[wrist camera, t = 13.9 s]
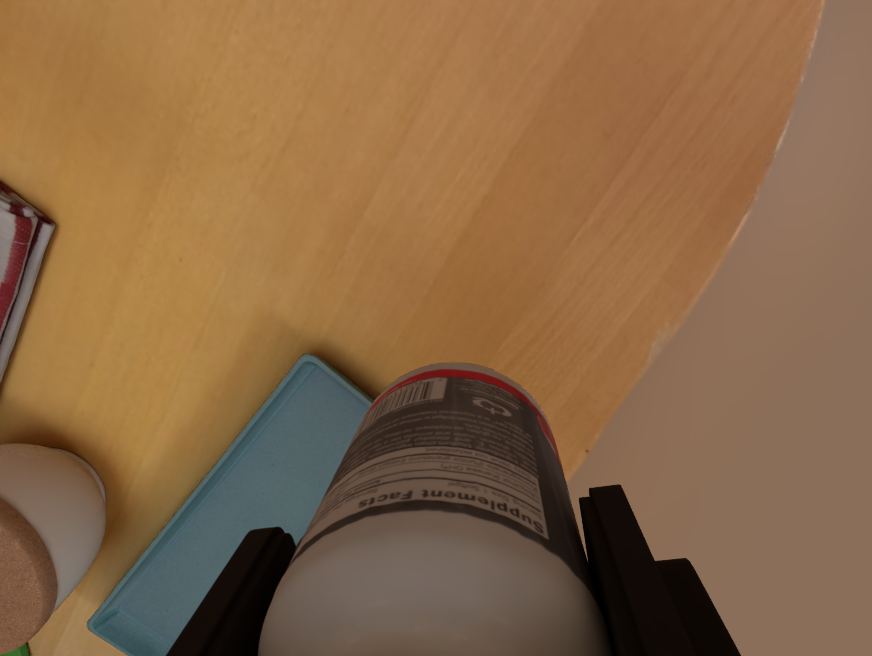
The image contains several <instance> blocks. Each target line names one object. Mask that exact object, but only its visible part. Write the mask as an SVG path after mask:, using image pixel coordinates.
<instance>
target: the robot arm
mask: <svg viewBox="0 0 872 656" xmlns="http://www.w3.org/2000/svg"><path fill="white" fill-rule="evenodd" d="M589 496H590V497H582V498H579V504H580V510H581V517H582V524H583V530H584V537H585V543H586V550H587V557H588V564H589V568H590V571H591V575H592V579H593V582H594V585H595V587H596V591H597V594H598V597H599V601H600V604H601V607H602V610H603V613H604V616H605V619H606V622H607V627H608V632H609V637H610V642H611V648H612V653H613V656H741V655H740V653H739V651H738V649H737V647H736V645H735V643H734V642H733V640H732V638H731V636H730V634H729V633H728V630H727V629H726V627H725V625H724V623H723V621H722V619H721V618H720V616H719V614H718V612H717V610H716V608H715V606H714V604H713V603H712V601H711V599H710V597H709V595H708V593H707V591H706V590H705V588H704V586H703V584H702V582H701V580H700V579H699V577H698V575H697V573H696V571H695V569H694V567H693V566H692V564H691V563H690V561H689V560H688V559H686V558H682V559H671V560H662V561H654V558H653V556H652V554H651V552H650V549H649V547H648V545H647V543H646V540H645V538H644V536H643V534H642V531H641V529H640V527H639V525H638V522H637V520H636V518H635V516H634V513H633V511H632V509H631V507H630V505H629V502H628V500H627V498H626V495H625V493H624V491H623V489H622V487H621V485H611V486H603V487H595V488H589ZM295 549H296V545H295V542H294V539H293V537H292V535H291V534H290V533H285V532H284V530H283V529H282V528H281V527H278V526H277V527H269V528H261V529H253V530H250V531H249V532H248V533H247V534H246V536H245V537H244V539H243V540H242V542H241V543H240V545H239V546H238V548H237V549H236V551H235V552H234V554H233V555H232V557H231V558H230V560H229V561H228V563H227V564H226V566H225V567H224V569H223V570H222V572H221V573H220V575H219V576H218V578H217V579H216V581H215V582H214V584H213V585H212V587H211V588H210V590H209V591H208V593H207V594H206V596H205V597H204V599H203V600H202V602H201V603H200V605H199V606H198V608H197V609H196V611H195V612H194V614H193V615H192V617H191V618H190V620H189V621H188V623H187V624H186V626H185V627H184V629H183V630H182V632H181V633H180V635H179V636H178V638H177V639H176V641H175V642H174V644H173V645H172V647H171V648H170V650H169V651H168V653H167V654H166V656H258V648H259V641H260V635H261V631H262V627H263V623H264V620H265V617H266V614H267V611H268V609H269V607H270V604H271V602H272V599H273V596H274V594H275V591H276V588H277V586H278V584H279V582H280V581H281V579H282V577H283V575H284V574H285V572H286V570H287V568H288V566H289V564H290V562H291V560H292V558H293V555H294V552H295Z"/></svg>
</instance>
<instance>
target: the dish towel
mask: <svg viewBox="0 0 872 656" xmlns="http://www.w3.org/2000/svg"><path fill="white" fill-rule="evenodd" d="M55 226H56V225H55V224H54V223H53V222H52V221H51V220H50V219H49V218H47V217H46V216H45V215H43V214H42V213H40V212H39V211H38V210H36V209H35V208H34V207H32V206H31V205H29V204H28V203H27V202H25V201H24V200H23V199H21V198H20V197H19V196H17V195H16V194H15V193H14V192H13V191H12V190H10V189H9V188H7V187H6V186H4V185H3V184H1V183H0V383H1V380H2V377H3V374H4V371H5V369H6V367H7V364H8V360H9V357H10V354H11V352H12V349H13V347H14V344H15V342H16V339H17V336H18V333H19V329H20V326H21V323H22V320H23V317H24V315H25V311H26V308H27V305H28V302H29V300H30V297H31V294H32V291H33V287H34V284H35V281H36V278H37V275H38V272H39V270H40V266H41V263H42V259H43V254H44V252H45V250H46V247H47V245H48V242H49V240H50V237H51V235H52V233H53V231H54V228H55Z"/></svg>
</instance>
